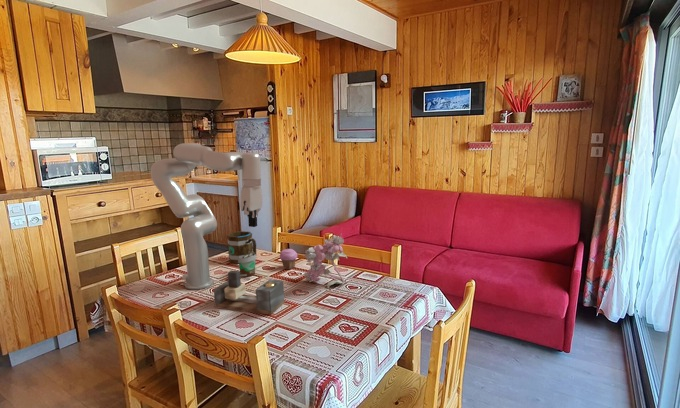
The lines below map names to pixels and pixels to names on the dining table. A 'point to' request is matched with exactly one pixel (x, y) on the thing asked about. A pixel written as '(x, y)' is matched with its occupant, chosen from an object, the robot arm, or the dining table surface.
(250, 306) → the rail base
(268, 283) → the button
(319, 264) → the flower
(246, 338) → the dining table surface
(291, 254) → the cupcake
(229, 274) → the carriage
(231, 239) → the mug
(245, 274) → the food container
